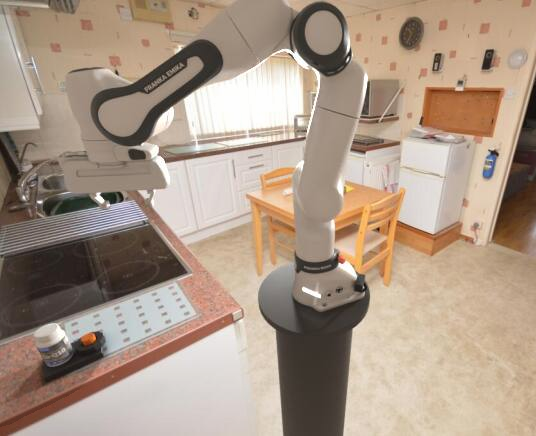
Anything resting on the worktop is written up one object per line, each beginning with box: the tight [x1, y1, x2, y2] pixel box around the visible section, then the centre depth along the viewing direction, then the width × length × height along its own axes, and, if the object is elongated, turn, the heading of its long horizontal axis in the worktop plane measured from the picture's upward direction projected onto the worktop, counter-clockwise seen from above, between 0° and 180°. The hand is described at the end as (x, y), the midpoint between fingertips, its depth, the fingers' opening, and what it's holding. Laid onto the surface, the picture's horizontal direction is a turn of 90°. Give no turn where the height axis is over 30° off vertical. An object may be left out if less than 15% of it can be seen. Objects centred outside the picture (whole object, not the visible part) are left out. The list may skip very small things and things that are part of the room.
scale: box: [42, 330, 107, 383], centre depth 65 cm, size 11×8×3 cm
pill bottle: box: [32, 322, 74, 367], centre depth 62 cm, size 5×5×8 cm
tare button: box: [80, 332, 96, 346], centre depth 66 cm, size 2×2×2 cm
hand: (128, 207), depth 70 cm, fingers open, 8 cm apart
